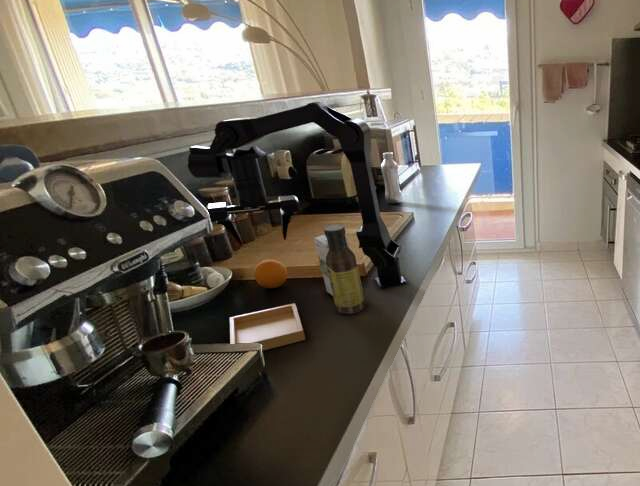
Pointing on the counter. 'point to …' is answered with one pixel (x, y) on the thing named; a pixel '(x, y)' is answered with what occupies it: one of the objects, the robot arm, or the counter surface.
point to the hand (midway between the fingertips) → (263, 242)
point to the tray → (268, 327)
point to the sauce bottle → (343, 272)
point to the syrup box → (324, 259)
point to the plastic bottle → (391, 179)
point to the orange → (270, 273)
